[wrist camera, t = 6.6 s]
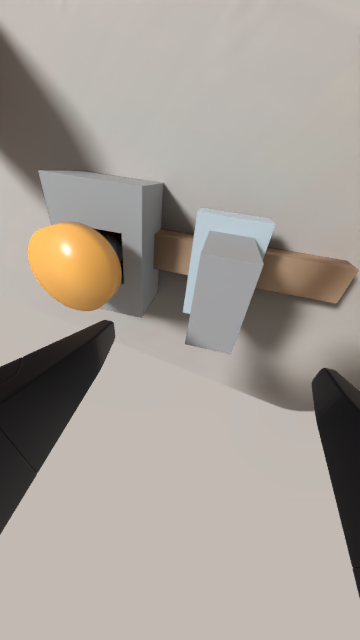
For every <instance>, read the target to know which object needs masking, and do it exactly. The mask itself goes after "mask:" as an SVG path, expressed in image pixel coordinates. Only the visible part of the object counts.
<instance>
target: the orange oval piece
mask: <svg viewBox="0 0 360 640" xmlns="http://www.w3.org/2000/svg"><path fill="white" fill-rule="evenodd" d="M122 255H123V252H122V248H121V246H120V244H119V242H118V241H117V240H116V239H115V238H114V237H112V236H111V235H108V234H100V233H99V232H97V231H96V230H94V229H93V228H91V227H89V226H87V225H85V224H82V223H79V222H73V221H67V222H62V223H58V224H55V225H51V226H48V227H44V228H42V229H40V230H38V231H37V232H35V233H34V235H33V236H32V237H31V239H30V242H29V245H28V259H29V263H30V266H31V269H32V271H33V273H34V275H35V277H36V279H37V280H38V282H39V283H40V285H41V286H42V287H43V288H44V289H45V291H46V292H47V293H48V294H49V295H51V296H52V297H53V298H54V299H56V300H57V301H58V302H60V303H62V304H63V305H65V306H67V307H70V308H72V309H76V310H80V311H92V310H96V309H99V308H100V307H102V306H103V305H104V304H105V303H106V302H107V301H108V300H109V299H110V298H111V297H112V296H113V295H114V294H115V293H116V292H117V291H118V289H119V287H120V284H121V279H122V271H121V265H120V261H121V259H122Z"/></svg>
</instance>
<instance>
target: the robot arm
mask: <svg viewBox="0 0 360 640" xmlns="http://www.w3.org/2000/svg"><path fill="white" fill-rule="evenodd" d="M114 339H115V329H114V323H113V322H112V321H108V320H103V321H100V322H98V323H96V324H94V325H92V326H89V327H87V328H85V329H83V330H81V331H79V332H76V333H74V334H72V335H70V336H68V337H65V338H63V339H61V340H59V341H56V342H54V343H52V344H50V345H48V346H45V347H43V348H41V349H39V350H37V351H34V352H33V353H30V354H28V355H26V356H24V357H23V358H19V359H17V360H15V361H12V362H10V363H8V364H6V365H3V366H1V367H0V534H1V532H2V531H3V529H4V527H5V526H6V524H7V523H8V521H9V519H10V518H11V516H12V514H13V513H14V511H15V509H16V508H17V506H18V505H19V503H20V501H21V499H22V498H23V496H24V495H25V493H26V491H27V490H28V488H29V486H30V485H31V483H32V481H33V480H34V478H35V477H36V475H37V473H38V471H39V470H40V468H41V467H42V465H43V463H44V462H45V460H46V458H47V457H48V455H49V453H50V452H51V450H52V448H53V447H54V445H55V443H56V442H57V440H58V438H59V437H60V435H61V434H62V432H63V430H64V429H65V427H66V425H67V424H68V422H69V421H70V419H71V417H72V416H73V414H74V412H75V411H76V409H77V407H78V406H79V404H80V403H81V401H82V399H83V397H84V396H85V394H86V393H87V391H88V389H89V388H90V386H91V385H92V383H93V381H94V380H95V378H96V376H97V375H98V373H99V371H100V370H101V367H102V366H103V364H104V361H105V359H106V357H107V355H108V353H109V351H110V348H111V346H112V344H113V342H114ZM312 392H313V400H314V408H315V415H316V420H317V425H318V430H319V433H320V438H321V442H322V446H323V450H324V454H325V458H326V462H327V466H328V470H329V474H330V479H331V483H332V487H333V491H334V495H335V499H336V503H337V507H338V511H339V515H340V519H341V523H342V527H343V531H344V535H345V539H346V543H347V547H348V551H349V556H350V560H351V564H352V567H353V573H354V576H355V581H356V585H357V589H358V592H359V597H360V391H359V390H357V389H356V388H355V387H354V386H353V385H352V384H350V383H349V382H348V381H347V380H346V379H345V378H344V377H342V376H341V375H340V374H339V373H338V372H337V371H335V370H333V369H328V368H322V369H321V370H320V371H319V373H318V374H317V375H316V377H315V378H314V379H313V381H312Z"/></svg>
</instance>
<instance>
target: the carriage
mask: <svg viewBox="0 0 360 640" xmlns="http://www.w3.org/2000/svg"><path fill="white" fill-rule="evenodd" d="M275 225H276V224H275V223H274V222H273V221H272V219H270V218H264V217H258V216H251V215H245V214H239V213H232V212H226V211H220V210H213V209H207V208H200V209H199V210H198V212H197V218H196V225H195V232H194V239H193V246H192V252H191V259H190V266H189V273H188V280H187V287H186V294H185V300H184V307H183V313H188V314H190V318H189V324H188V330H187V336H186V341H185V344H187V345H191V346H196V347H200V348H205V349H209V350H214V351H218V352H223V353H227V354H231V353H232V350H233V347H234V344H235V342H236V339H237V336H238V333H239V331H240V328H241V325H242V323H243V320H244V317H245V314H246V312H247V309H248V306H249V303H250V301H251V298H252V295H253V293H254V290H255V287H256V284H257V282H258V279H259V276H260V273H261V271H262V268H263V265H264V264H263V258H264V255H265V253H266V250H267V247H268V244H269V241H270V239H271V236H272V233H273V230H274V227H275Z"/></svg>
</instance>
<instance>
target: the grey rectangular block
mask: <svg viewBox="0 0 360 640" xmlns="http://www.w3.org/2000/svg"><path fill="white" fill-rule="evenodd" d="M38 172H39V176H40V180H41V184H42V189H43V193H44V197H45V201H46V205H47V209H48V214H49V218H50V222H51V225H55V224H58V223H62V222H67V221H73V222H79V223H82V224H85V225H87V226H89V227H91V228H93V229H94V230H96V231H97V232H99V233H100V230H105V231H111V232H117V233H122V252H123V271H124V277H122V279H121V284H120V287H119V289H118V291H117V292H116V293H115V294H114V295H113V296H112V297H111V298H110V299H109V300H108V301H107V302H106V303H105V304H104V305H103V306H102V307H100V308H99V309H104V310H108V311H113V312H117V313H122V314H127V315H131V316H136V317H141V318H142V316H143V315H144V313H145V312H146V310H147V308H148V307H149V305H150V304H151V302H152V300H153V299H154V297H155V296H156V294H157V292H158V276H159V270H158V269H153V260H154V234H155V233H157V232H158V231H159V230H161V221H162V202H163V184H164V183H160V182H153V181H146V180H140V179H133V178H126V177H120V176H113V175H106V174H99V173H93V172H86V171H48V170H38ZM100 234H101V233H100Z"/></svg>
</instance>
